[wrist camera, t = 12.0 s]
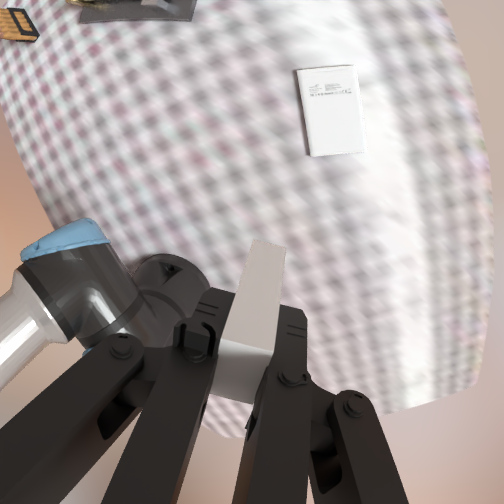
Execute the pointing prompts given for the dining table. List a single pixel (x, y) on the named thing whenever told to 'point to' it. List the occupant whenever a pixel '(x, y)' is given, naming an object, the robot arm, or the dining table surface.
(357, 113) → the external hard drive
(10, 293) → the robot arm
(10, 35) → the ammunition clip
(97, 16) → the latch board
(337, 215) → the dining table surface
